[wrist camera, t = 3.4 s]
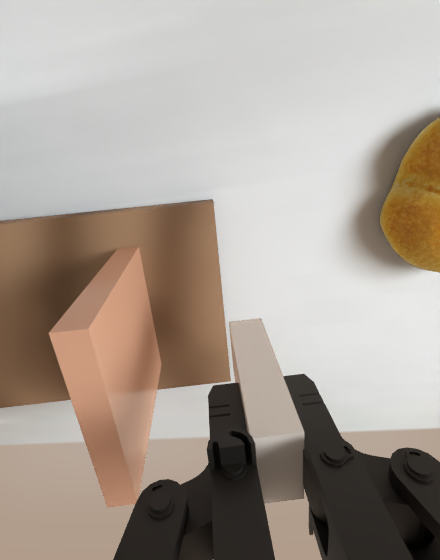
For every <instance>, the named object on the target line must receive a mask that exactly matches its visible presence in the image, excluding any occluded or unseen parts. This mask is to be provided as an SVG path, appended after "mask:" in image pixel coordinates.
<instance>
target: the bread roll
mask: <svg viewBox="0 0 440 560" xmlns="http://www.w3.org/2000/svg"><path fill="white" fill-rule="evenodd" d="M380 224H381V228H382V230H383V233H384V235H385V237H386V238H387V240H388V242H389V243H390V245H391V247H392V248H393V249H394V250H395V252H396V253H397V254H398V255H399V256H400V257H402V258H403V259H404V260H405V261H406V262H408V263H409V264H411V265H413V266H415V267H417V268H421V269H424V270H428V271H434V272H440V117H439V118H437V119H436V120H435V121H433V122H432V123H430V124H429V125H428V126H427V127H426V128H424V129H423V130H422V131H421V132H420V134H419V135H418V136H417V137H416V138H415V140H414V141H413V143H412V144H411V145H410V147H409V149H408V151H407V152H406V154H405V156H404V157H403V159H402V161H401V164H400V167H399V170H398V173H397V175H396V177H395V181H394V183H393V186H392V188H391V190H390V191H389V193H388V195H387V197H386V200H385V202H384V204H383V207H382V211H381V214H380Z"/></svg>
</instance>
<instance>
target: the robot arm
mask: <svg viewBox="0 0 440 560" xmlns="http://www.w3.org/2000/svg"><path fill="white" fill-rule="evenodd" d="M229 326H230V337H231V347H232V358H233V368H234V375H235V381H236V383H231V384H223V385H215V386H213V387H212V389H211V391H210V393H209V395H208V402H209V425H210V440H209V442H208V446H207V454H208V461H209V463H208V465H207V467H206V468H205V470H204V471H203V472H202V473H201V474H200V475H198V476H197V477H195V478H193V479H192V480H190V481H188V482H185V483H183V484H181V485H180V484H178V482H175V481H172V480H169V479H167V480H159V481H157V482H154V483H152V484H150V485H149V486H148V487H147V488H146V489H145V490H143V492H142V493H141V495H140V496H139V498H138V500H137V502H136V504H135V507H134V509H133V512H132V514H131V517H130V520H129V522H128V524H127V527H126V529H125V532H124V534H123V537H122V539H121V542H120V544H119V547H118V549H117V552H116V554H115V557H114V559H113V560H213V559H214V560H275V557H274V552H273V547H272V541H271V536H270V531H269V526H268V521H267V515H266V511H265V505H264V503H271V502H280V501H287V500H295V499H303V498H304V489H305V492H306V495H307V498H308V502H309V534H310V535H313V530H314V534H315V537H316V540H317V543H318V547H319V550H320V554H321V557H322V560H440V462H439V461H438V460H436V459H435V458H434V457H432V456H431V455H429V454H428V453H425V452H423V451H421V450H418V449H414V448H402V449H398V450H396V451H395V452H394V453H393V454H392V456H391V459H390V458H384V457H377V456H372V455H367V454H363V453H361V452H359V451H357V450H355V449H354V448H353V447H352V445H351V444H349V443H348V442H346V441H345V440H343V438H342V437H341V435H340V433H339V431H338V429H337V427H336V425H335V423H334V421H333V419H332V417H331V415H330V413H329V411H328V409H327V407H326V405H325V404H324V403H323V400H322V398H321V396H320V395H319V392H318V390H317V388H316V386H315V384H314V382H313V381H312V380H311V379H309V378H308V377H307V376H306V375H305V374H299V375H290V376H283V375H282V372H281V369H280V367H279V364H278V362H277V359H276V356H275V354H274V351H273V348H272V346H271V343H270V340H269V338H268V335H267V333H266V330H265V327H264V325H263V322H262V319H261V318H259V319H251V320H242V321H233V322H229Z"/></svg>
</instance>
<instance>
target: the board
mask: <svg viewBox="0 0 440 560" xmlns="http://www.w3.org/2000/svg"><path fill="white" fill-rule="evenodd" d="M131 247H139V250H140V255H141V260H142V266H143V271H144V276H145V281H146V286H147V292H148V297H149V302H150V307H151V312H152V318H153V323H154V328H155V333H156V338H157V344H158V349H159V354H160V359H161V370H160V376H159V382H158V388H157V390H158V389H167V388H175V387H184V386H192V385H201V384H210V383H218V382H227V381H231V379H230V369H229V358H228V348H227V338H226V328H225V317H224V307H223V297H222V286H221V276H220V266H219V256H218V245H217V235H216V225H215V214H214V204H213V200H202V201H192V202H183V203H173V204H163V205H153V206H143V207H134V208H124V209H114V210H104V211H94V212H85V213H75V214H65V215H55V216H46V217H36V218H26V219H16V220H6V221H0V408H3V407H12V406H21V405H29V404H38V403H46V402H55V401H64V400H71V398H70V395H69V392H68V389H67V386H66V383H65V380H64V377H63V374H62V371H61V369H60V366H59V363H58V360H57V357H56V354H55V351H54V348H53V345H52V342H51V339H50V336H49V332H50V331H51V330H52V328H53V327H54V326H55V325H56V323H57V322H58V321H59V320H60V319H61V317H62V316H63V315H64V314H65V312H66V311H67V310H68V309H69V308H70V306H71V305H72V304H73V303H74V301H75V300H76V299H77V298H78V297H79V295H80V294H81V293H82V292H83V290H84V289H85V288H86V287H87V286H88V284H89V283H90V282H91V281H92V279H93V278H94V277H95V276H96V275H97V273H98V272H99V271H100V270H101V268H102V267H103V266H104V265H105V263H106V262H107V261H108V260H109V259H110V257H111V256H112V255H113V254H114V252H115V251H116V250H117V249H121V248H131Z"/></svg>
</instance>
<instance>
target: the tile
mask: <svg viewBox="0 0 440 560" xmlns="http://www.w3.org/2000/svg"><path fill="white" fill-rule="evenodd" d="M49 336H50V339H51V342H52V345H53V348H54V351H55V354H56V357H57V360H58V363H59V366H60V369H61V371H62V374H63V377H64V380H65V383H66V386H67V389H68V392H69V395H70V398H71V401H72V404H73V407H74V410H75V413H76V416H77V419H78V422H79V425H80V428H81V431H82V434H83V437H84V440H85V443H86V446H87V449H88V451H89V454H90V457H91V460H92V463H93V466H94V469H95V472H96V475H97V478H98V481H99V484H100V487H101V490H102V493H103V496H104V499H105V502H106V505H107V507H115V506H122V505H130V504H136V502H137V500H138V498H139V493H140V488H141V482H142V476H143V470H144V464H145V458H146V452H147V446H148V441H149V435H150V429H151V423H152V417H153V411H154V405H155V399H156V394H157V388H158V382H159V376H160V370H161V359H160V354H159V349H158V344H157V338H156V333H155V328H154V323H153V318H152V312H151V307H150V302H149V297H148V292H147V286H146V281H145V276H144V271H143V266H142V260H141V255H140V250H139V247H131V248H121V249H117V250H116V251H115V252H114V254H113V255H112V256H111V257H110V259H109V260H108V261H107V262H106V263H105V265H104V266H103V267H102V268H101V270H100V271H99V272H98V273H97V275H96V276H95V277H94V278H93V279H92V281H91V282H90V283H89V284H88V286H87V287H86V288H85V289H84V290H83V292H82V293H81V294H80V295H79V297H78V298H77V299H76V300H75V301H74V303H73V304H72V305H71V306H70V308H69V309H68V310H67V311H66V312H65V314H64V315H63V316H62V317H61V319H60V320H59V321H58V322H57V323H56V325H55V326H54V327H53V328H52V330H51V331H50V332H49Z"/></svg>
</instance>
